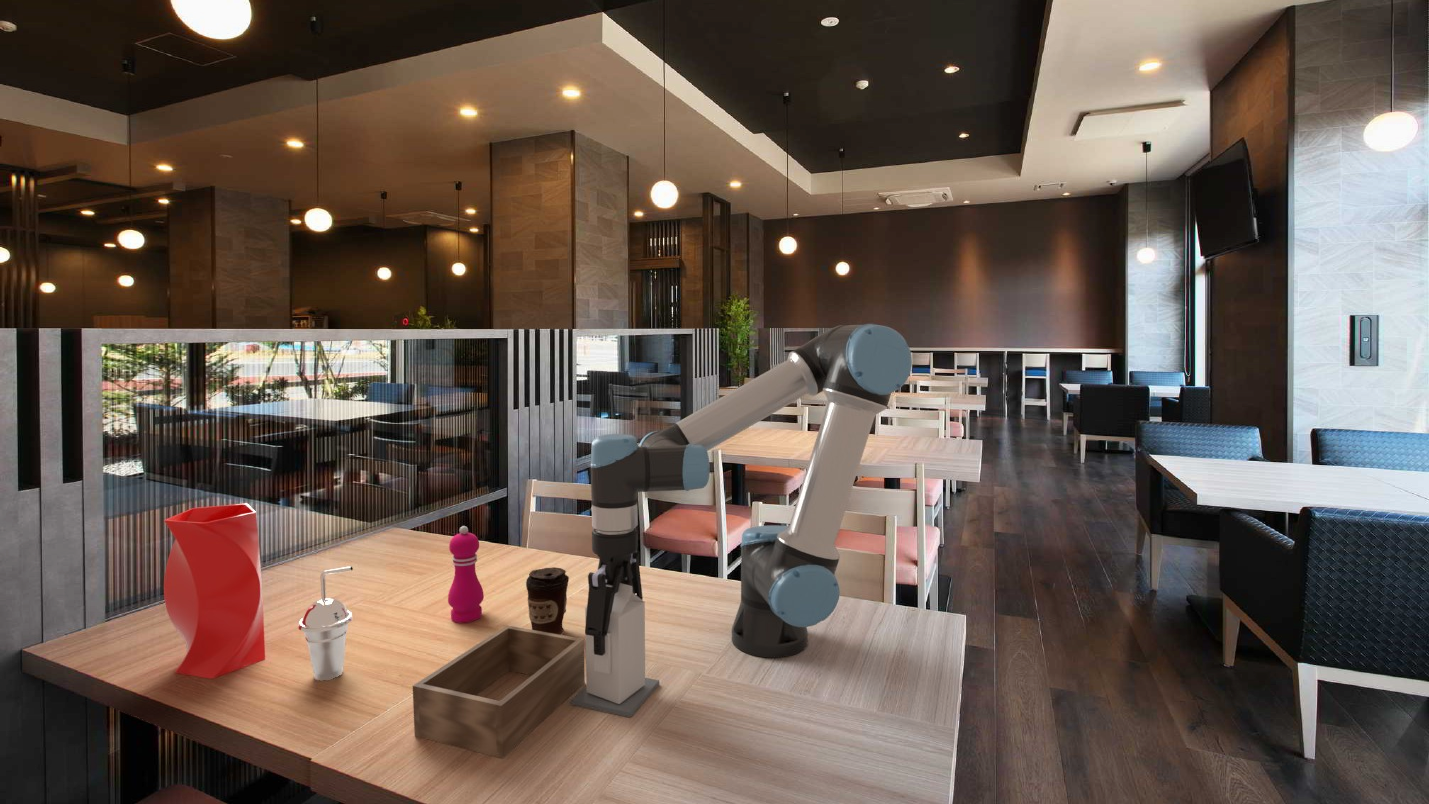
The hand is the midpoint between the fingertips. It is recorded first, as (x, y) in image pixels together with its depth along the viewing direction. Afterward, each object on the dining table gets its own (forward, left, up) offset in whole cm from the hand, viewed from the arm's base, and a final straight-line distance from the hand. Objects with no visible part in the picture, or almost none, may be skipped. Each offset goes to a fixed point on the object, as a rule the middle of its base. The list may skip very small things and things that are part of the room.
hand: (615, 658), depth 117 cm
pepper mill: (+45, -17, -7) cm, 49 cm away
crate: (+15, +10, -6) cm, 19 cm away
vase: (+74, +14, -7) cm, 76 cm away
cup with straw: (+51, +12, -7) cm, 53 cm away
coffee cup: (+24, -16, -7) cm, 30 cm away
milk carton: (0, 0, -6) cm, 6 cm away
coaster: (0, 0, -6) cm, 6 cm away
